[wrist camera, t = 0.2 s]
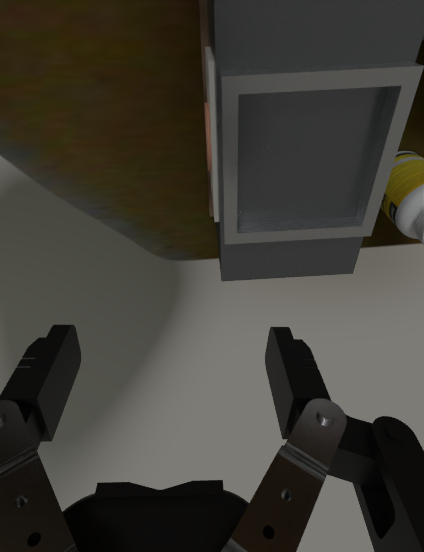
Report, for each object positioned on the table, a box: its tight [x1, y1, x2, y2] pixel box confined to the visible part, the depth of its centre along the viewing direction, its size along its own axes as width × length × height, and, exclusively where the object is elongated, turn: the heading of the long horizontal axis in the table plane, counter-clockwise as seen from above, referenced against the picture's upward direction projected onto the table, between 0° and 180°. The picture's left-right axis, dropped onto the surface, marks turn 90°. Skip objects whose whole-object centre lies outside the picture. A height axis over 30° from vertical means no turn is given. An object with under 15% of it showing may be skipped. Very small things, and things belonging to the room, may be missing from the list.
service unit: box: [199, 0, 424, 281], centre depth 24 cm, size 19×11×13 cm, turn 2°
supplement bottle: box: [380, 151, 424, 244], centre depth 30 cm, size 5×5×10 cm
